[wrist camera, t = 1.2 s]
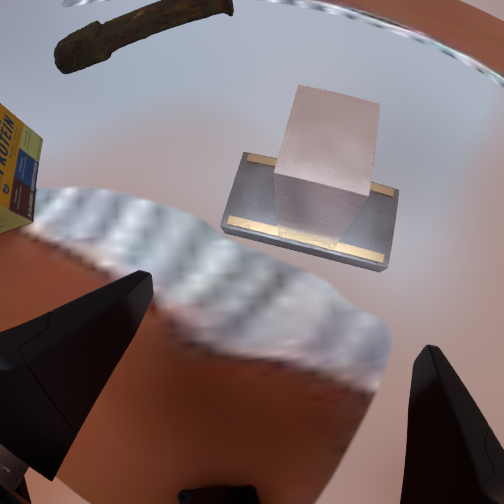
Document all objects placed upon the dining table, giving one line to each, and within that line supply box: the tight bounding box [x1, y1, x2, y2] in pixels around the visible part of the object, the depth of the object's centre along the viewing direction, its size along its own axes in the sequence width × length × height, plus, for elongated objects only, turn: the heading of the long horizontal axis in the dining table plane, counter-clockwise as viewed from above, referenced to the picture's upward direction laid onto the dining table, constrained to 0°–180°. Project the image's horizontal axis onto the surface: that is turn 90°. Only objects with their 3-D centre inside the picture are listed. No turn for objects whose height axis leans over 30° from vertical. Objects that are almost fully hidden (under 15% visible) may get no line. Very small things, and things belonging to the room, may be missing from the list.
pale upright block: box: [274, 85, 380, 246], centre depth 17 cm, size 4×5×9 cm
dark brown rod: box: [54, 0, 234, 74], centre depth 28 cm, size 23×5×6 cm, turn 105°
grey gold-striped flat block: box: [220, 152, 399, 272], centre depth 23 cm, size 12×6×2 cm, turn 74°
